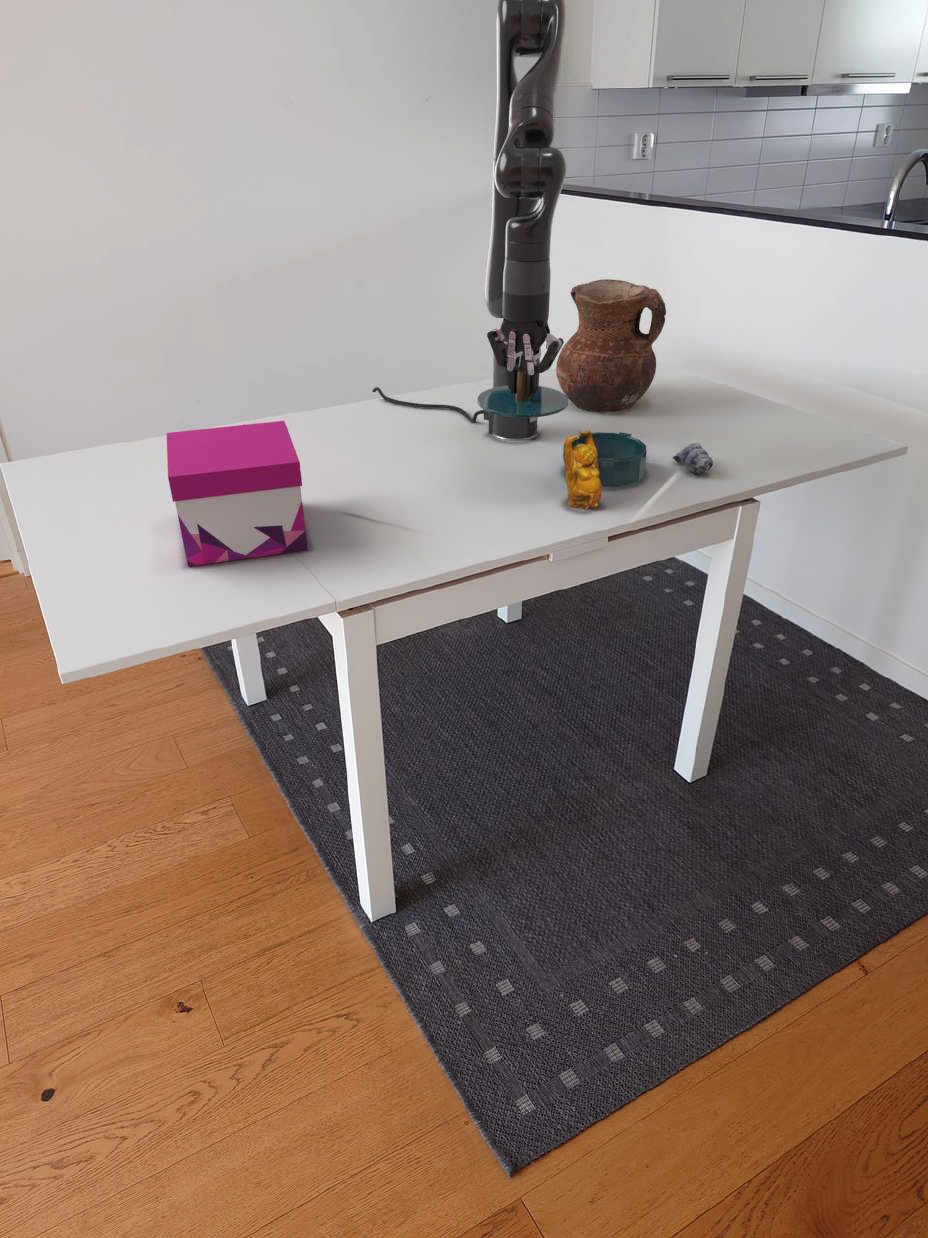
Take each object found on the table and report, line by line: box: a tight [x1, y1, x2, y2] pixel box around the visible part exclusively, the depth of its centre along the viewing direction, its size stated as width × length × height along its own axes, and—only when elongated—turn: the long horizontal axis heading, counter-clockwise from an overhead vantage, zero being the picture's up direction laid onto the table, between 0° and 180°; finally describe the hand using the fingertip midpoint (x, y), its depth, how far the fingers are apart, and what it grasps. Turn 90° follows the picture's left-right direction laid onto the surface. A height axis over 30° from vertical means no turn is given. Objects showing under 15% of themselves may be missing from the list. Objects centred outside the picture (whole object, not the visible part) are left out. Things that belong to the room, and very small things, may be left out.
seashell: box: [672, 442, 714, 474], centre depth 166 cm, size 5×5×10 cm
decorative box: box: [166, 420, 308, 567], centre depth 142 cm, size 19×19×15 cm
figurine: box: [562, 429, 603, 510], centre depth 151 cm, size 6×7×13 cm
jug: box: [555, 278, 667, 413], centre depth 194 cm, size 22×21×25 cm
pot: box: [564, 431, 648, 488], centre depth 164 cm, size 15×20×5 cm
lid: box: [476, 369, 570, 418], centre depth 150 cm, size 16×16×6 cm
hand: (522, 393), depth 151 cm, fingers closed on lid, 2 cm apart
